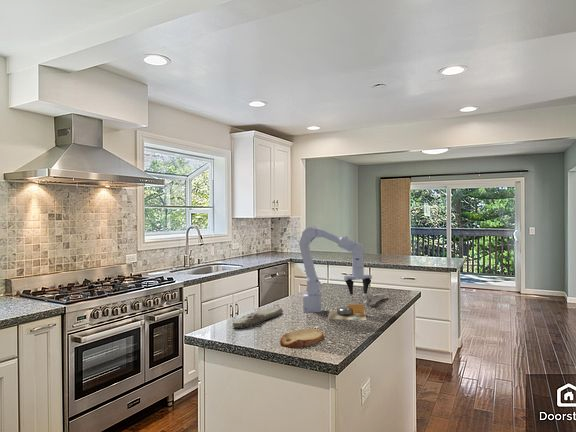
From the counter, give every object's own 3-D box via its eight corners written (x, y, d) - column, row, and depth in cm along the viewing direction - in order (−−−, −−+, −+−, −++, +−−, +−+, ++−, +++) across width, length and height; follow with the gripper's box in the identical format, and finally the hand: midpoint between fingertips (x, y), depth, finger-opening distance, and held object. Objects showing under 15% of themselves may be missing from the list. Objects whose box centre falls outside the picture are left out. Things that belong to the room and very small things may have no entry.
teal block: (353, 318, 182) (353, 318, 182) (355, 318, 182) (355, 317, 182) (355, 319, 180) (355, 319, 180) (358, 319, 180) (358, 318, 180)
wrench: (386, 303, 230) (364, 307, 206) (383, 302, 231) (361, 306, 208) (386, 289, 231) (365, 292, 207) (384, 289, 232) (362, 291, 208)
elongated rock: (288, 316, 198) (272, 315, 203) (287, 306, 198) (271, 305, 204) (244, 330, 168) (227, 328, 174) (244, 317, 169) (227, 316, 174)
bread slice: (322, 333, 164) (322, 324, 164) (327, 348, 146) (327, 338, 146) (279, 334, 164) (279, 325, 164) (280, 349, 146) (279, 339, 146)
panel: (327, 321, 182) (327, 318, 182) (329, 311, 200) (329, 309, 200) (366, 322, 179) (366, 320, 179) (365, 312, 197) (365, 310, 197)
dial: (336, 315, 187) (336, 305, 187) (337, 311, 195) (337, 302, 195) (363, 316, 185) (363, 306, 185) (363, 312, 193) (363, 302, 193)
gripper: (367, 265, 201) (367, 291, 201) (341, 266, 198) (341, 293, 198) (373, 267, 195) (374, 294, 195) (347, 268, 191) (347, 296, 191)
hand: (358, 293), depth 196 cm, fingers open, 7 cm apart
